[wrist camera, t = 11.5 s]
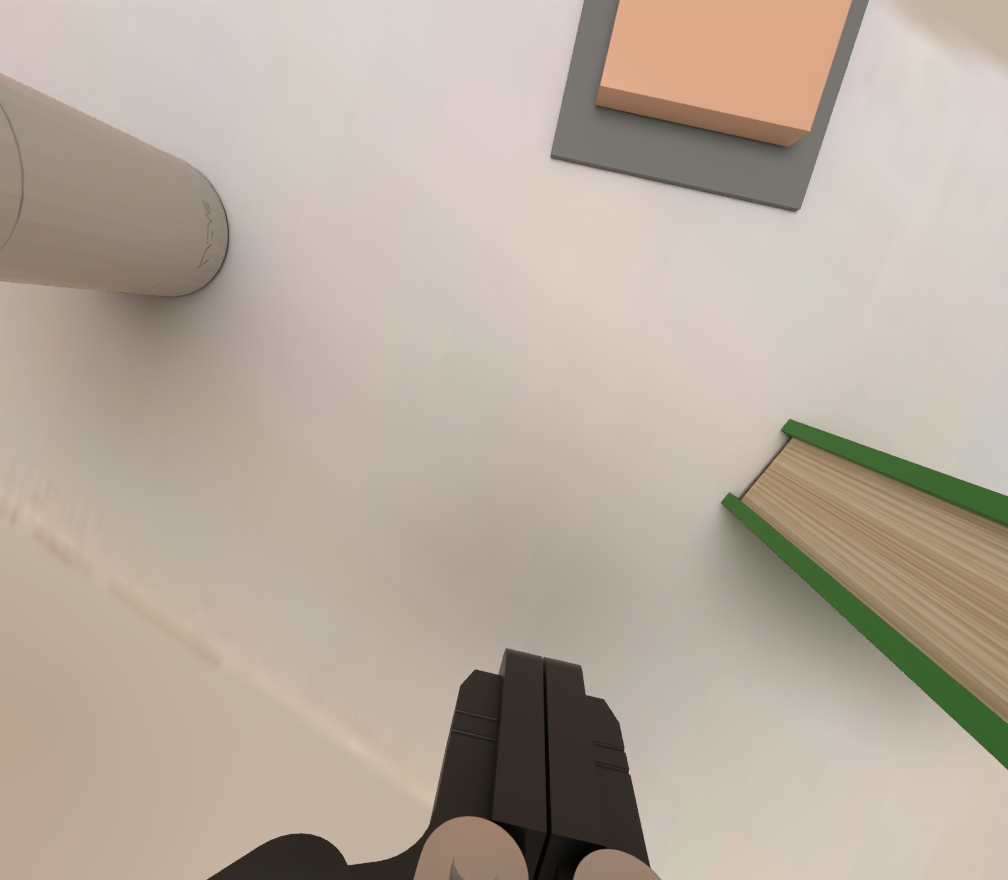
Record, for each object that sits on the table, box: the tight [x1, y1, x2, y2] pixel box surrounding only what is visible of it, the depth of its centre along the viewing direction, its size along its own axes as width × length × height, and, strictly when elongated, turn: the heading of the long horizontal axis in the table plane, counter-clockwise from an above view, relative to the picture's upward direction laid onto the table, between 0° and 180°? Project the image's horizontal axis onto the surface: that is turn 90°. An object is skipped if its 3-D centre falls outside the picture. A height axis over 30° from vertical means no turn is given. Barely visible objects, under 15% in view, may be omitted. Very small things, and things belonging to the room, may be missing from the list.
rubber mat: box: [551, 0, 869, 211], centre depth 30 cm, size 16×19×1 cm
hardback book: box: [721, 419, 1008, 769], centre depth 25 cm, size 18×7×24 cm, turn 56°
